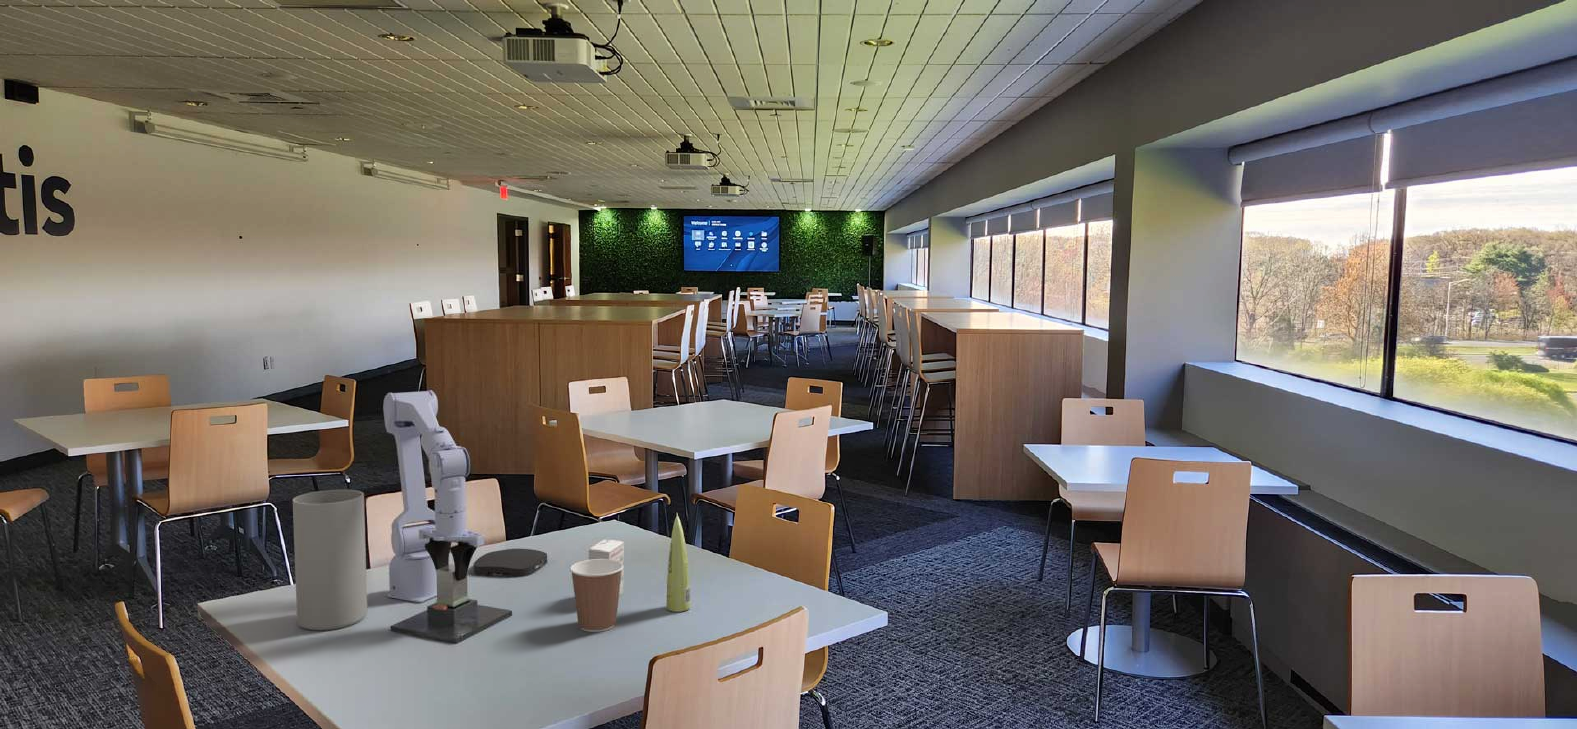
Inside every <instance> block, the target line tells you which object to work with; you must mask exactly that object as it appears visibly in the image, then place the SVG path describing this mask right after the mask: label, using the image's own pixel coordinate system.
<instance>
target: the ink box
mask: <svg viewBox="0 0 1577 729" xmlns="http://www.w3.org/2000/svg"><path fill="white" fill-rule="evenodd" d="M624 548H625V542H624V541H623V540H622V541H621V540H617V539H602V540H601V541H599V542H597V543H596V544H594V545H593V546H591V547H590V548H589V550H588V560H592V559H610V560H616V561H619V562H621V563H622V564H623V565H624V562H625V561H624V559H625V558H624V556H625V555H624V551H625V549H624ZM623 593H624V568H623V569H622V573H621V582H620V591H619V597H620V596H622V595H623Z"/></svg>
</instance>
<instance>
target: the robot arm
mask: <svg viewBox="0 0 1577 729" xmlns="http://www.w3.org/2000/svg"><path fill="white" fill-rule="evenodd" d="M438 405H439V402H438V397H437V395H436V393H435V392H434V391H433V390H431V389H430V390H429V389H428V390H426V391H425V390H424V391H423V390H422V391H409V392H406V391H405V392H387V394H386V395H385V396H384V399H383V406H382V407H383V408H382V409H383V410H382V411H383V417H384V427H385V429H386V433H389V434H392V435H393V436H394V439H395V444H396V452H397V459H398V461H397V462H398V470H399V478H400V485H401V487H400V488H401V496H402V504H403V505H402V506H403V511H402V512H400V513H399V515H397V517H395V518H394V519H393V521H392V522H391V525H390V526H391V534H390V536H391V537H390V539H391V541H390V542H391V543H390V544H391V548H392V551H393V554H394V556H393V557H392V558H391V560H390V562H389V567H388V570H389V571H388V575H389V576H388V580H389V593H387V594H386V597H387V598H392V599H397V600H403V601H410V602H414V603H423V602H425V601H428V600H430V599H432V598H435V597H437V574H436V570H437V569H440V568H442V567H445V566H448V565H450V560H449V559H450V553H451V555H452V558H453V565H455V577H456V581H460V580H463V579H465V578H466V576H467V577H468V571H469V567H470V563H471V561H472V559H473V555H474V553H475V552H476V550H477V548H479V547H482V546H484V545H485V535H484V534H480V533H477V532H473V531H472V530H468V529H467V502H466V501H467V500H466V498H467V496H466V493H467V492H466V490H467V489H466V477H468V476H469V475H470V471H471V459H470V455H469V452H468V451H467V449H466V447H463V446H461V445H460V446H457V444H456V443H455V441H454V439H453V437H452V435H451V434H450V431H449V430H448V429H447V428H446V427H444V426H440V425H439V422H438V420H437V414H438V412H439V411H438V410H439V406H438ZM422 449H423V451H424V452H425V454H426V457H427V458H428V460H429V462H428V463H429V464H428V466H429V473H430V477H431V487H432V488H433V489H434V510H433V509H431V508H429V507H428V498H427V491H426V490H427V489H426V483H425V482H426V481H425V474H424V472H425V471H424V464H423V456H422ZM422 522H424V523H422ZM425 522H426V523H425ZM416 523H417V524H416ZM418 523H419V524H418ZM408 524H411V525H408ZM412 524H413V525H412ZM405 525H406V526H405ZM452 543H454V544H455V543H456V544H455V545H453V546H452Z"/></svg>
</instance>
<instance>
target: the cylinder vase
mask: <svg viewBox="0 0 1577 729" xmlns="http://www.w3.org/2000/svg"><path fill="white" fill-rule="evenodd" d="M292 515H293V516H292V518H293V546H294V568H295V570H294V572H295V574H294V576H295V597H296V598H295V600H296V622H297V624H298V626H299V627H300V628H302V629H305V630H309V631H330V630H336V629H343V628H346V627H349V626H352V625H355V624H357V623H359V622H361V621H362V620H363V619H364V618H366V616H367V614H368V591H367V590H368V589H367V584H368V583H367V559H366V557H367V556H366V522H365V520H366V519H365V517H366V516H365V493H364V492H362V491H360V490H354V489H330V490H329V489H328V490H327V489H326V490H319V491H313V492H308V493H304V494H301V495H297V496H295V497H294V498H292Z"/></svg>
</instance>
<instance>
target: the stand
mask: <svg viewBox="0 0 1577 729" xmlns="http://www.w3.org/2000/svg"><path fill="white" fill-rule="evenodd" d="M511 616H513V610H510V609H505V608H500V607H499V608H498V607H494V606H493V607H492V606H487V605H482V604H478V600H477V599H471V598H468V601H466V602H464V603H462V604H460V605H458V606H455V607H448V606H446V605H441V604H437V603H436V602H434V603H432V604H430V605H427V607H426V610H423V611H422V612H419V613H417V614H414V615H413V616H410V617H409V618H408V617H407V618H406V619H402V620H401V621H398V622H396V623H394V624H392V625H390V632H393V633H397V634H403V635H410V636H413V637H419V638H425V639H430V640H435V641H440V642H445V643H451V644H459V643H461V642H463V641H464V640H467V639H469V638H470V637H473V636H475V635H477V634H478V633H481V632H482V631H484V630H487V629H489V628H490V627H492V626H494V625H497V624H499V623H501V622H502V621H504V620H506V619H507V618H510V617H511Z"/></svg>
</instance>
